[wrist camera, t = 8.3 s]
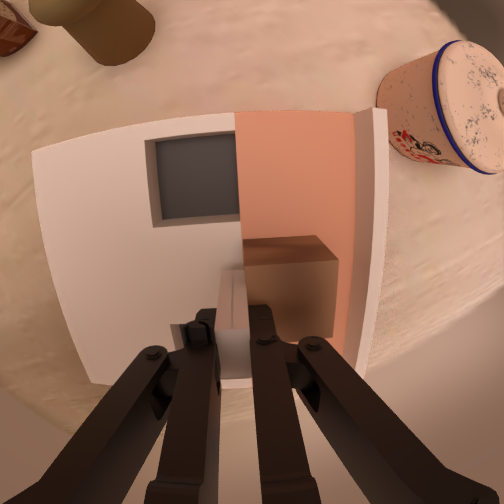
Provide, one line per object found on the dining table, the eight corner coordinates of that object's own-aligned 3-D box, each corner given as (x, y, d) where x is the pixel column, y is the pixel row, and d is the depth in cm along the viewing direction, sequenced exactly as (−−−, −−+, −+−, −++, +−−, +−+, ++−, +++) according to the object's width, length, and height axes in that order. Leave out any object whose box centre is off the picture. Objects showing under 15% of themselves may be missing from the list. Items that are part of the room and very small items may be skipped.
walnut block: (246, 305, 21) (249, 345, 17) (242, 239, 20) (244, 266, 15) (314, 299, 21) (332, 337, 17) (315, 235, 20) (339, 259, 15)
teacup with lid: (369, 154, 21) (468, 161, 10) (372, 53, 18) (457, 2, 7) (469, 178, 22) (559, 202, 11) (472, 93, 19) (559, 86, 8)
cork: (160, 50, 18) (106, -17, 7) (93, 77, 18) (9, 41, 7) (150, -3, 16) (106, -75, 5) (87, 24, 16) (19, -25, 5)
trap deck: (101, 365, 26) (80, 402, 21) (51, 150, 19) (7, 152, 14) (340, 356, 27) (359, 397, 21) (351, 119, 20) (386, 109, 14)
